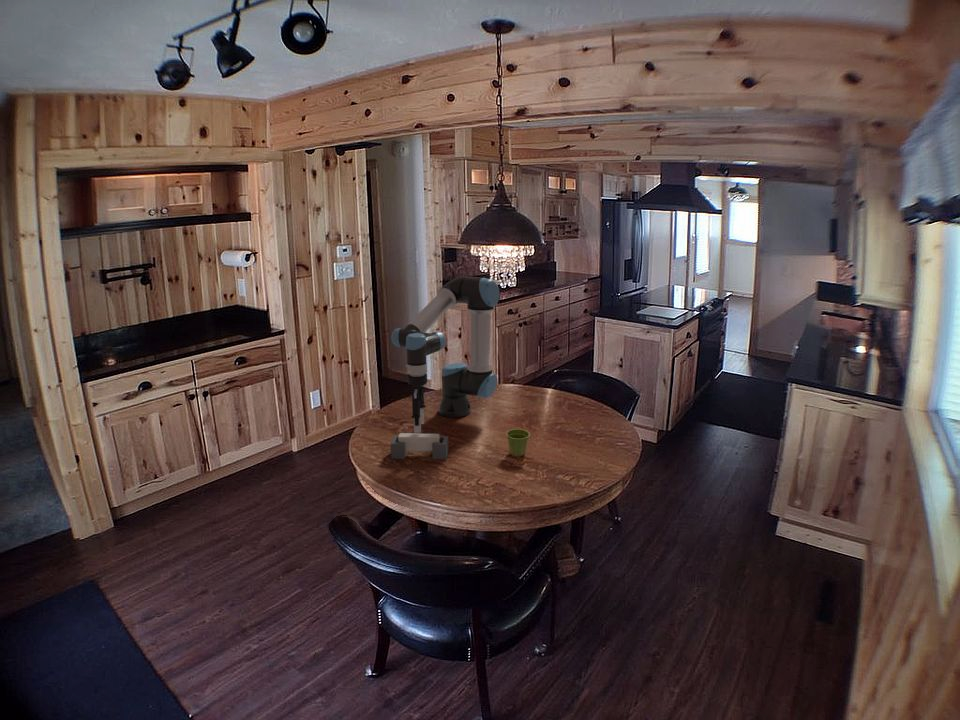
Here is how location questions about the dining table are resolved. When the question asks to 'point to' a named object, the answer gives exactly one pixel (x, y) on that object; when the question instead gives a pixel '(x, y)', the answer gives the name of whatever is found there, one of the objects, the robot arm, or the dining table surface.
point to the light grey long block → (418, 441)
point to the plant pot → (517, 441)
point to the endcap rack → (437, 448)
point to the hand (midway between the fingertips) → (419, 427)
